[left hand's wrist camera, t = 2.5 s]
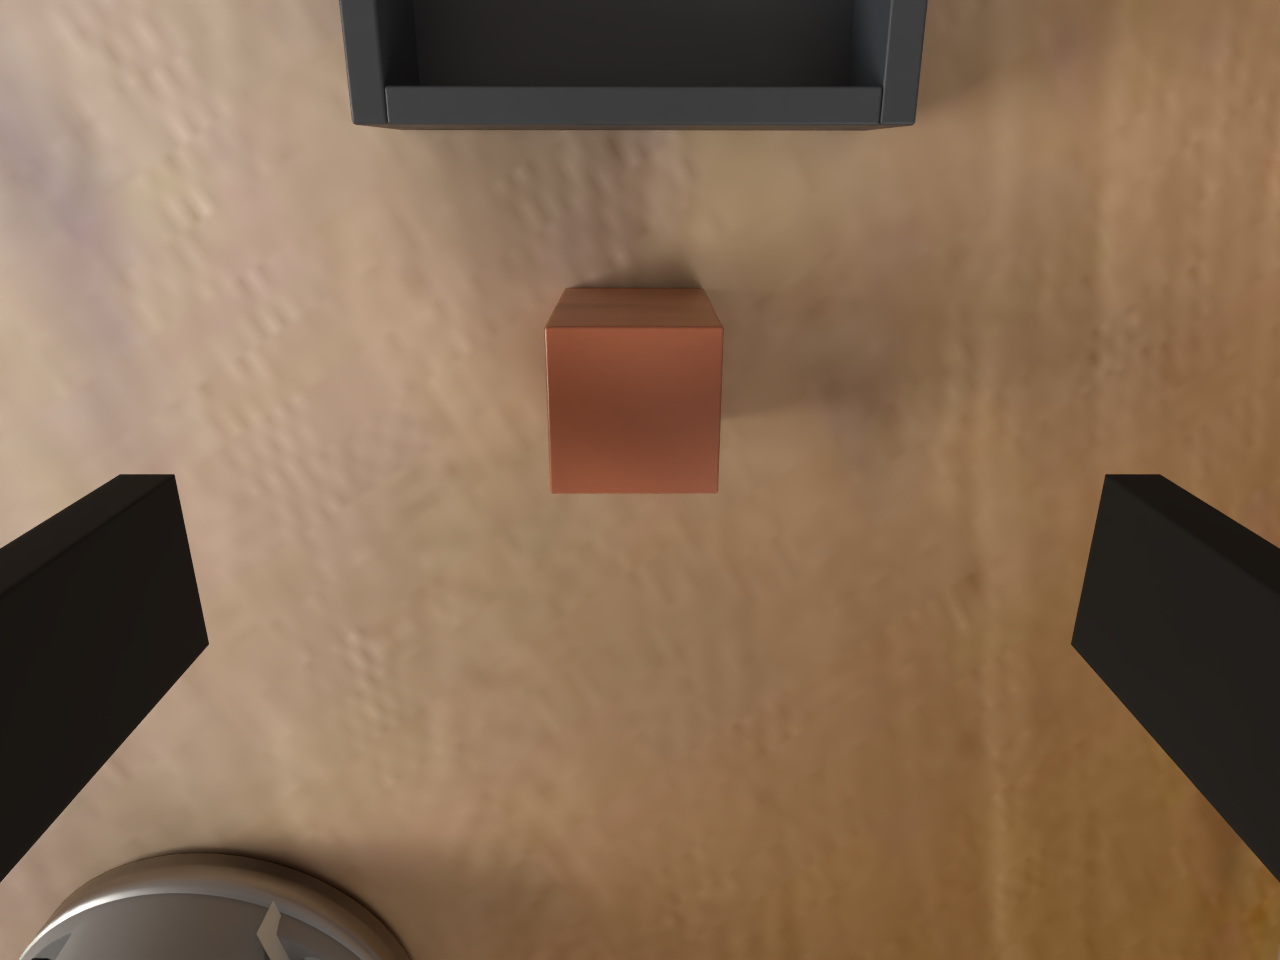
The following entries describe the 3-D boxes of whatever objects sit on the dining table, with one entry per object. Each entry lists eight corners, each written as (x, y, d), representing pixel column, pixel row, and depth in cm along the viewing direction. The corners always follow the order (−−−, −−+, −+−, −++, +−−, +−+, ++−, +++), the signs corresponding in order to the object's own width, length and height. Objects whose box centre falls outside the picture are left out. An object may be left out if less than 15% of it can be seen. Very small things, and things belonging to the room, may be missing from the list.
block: (700, 421, 26) (717, 494, 21) (568, 421, 26) (550, 494, 21) (704, 288, 25) (724, 326, 19) (564, 287, 25) (544, 326, 19)
